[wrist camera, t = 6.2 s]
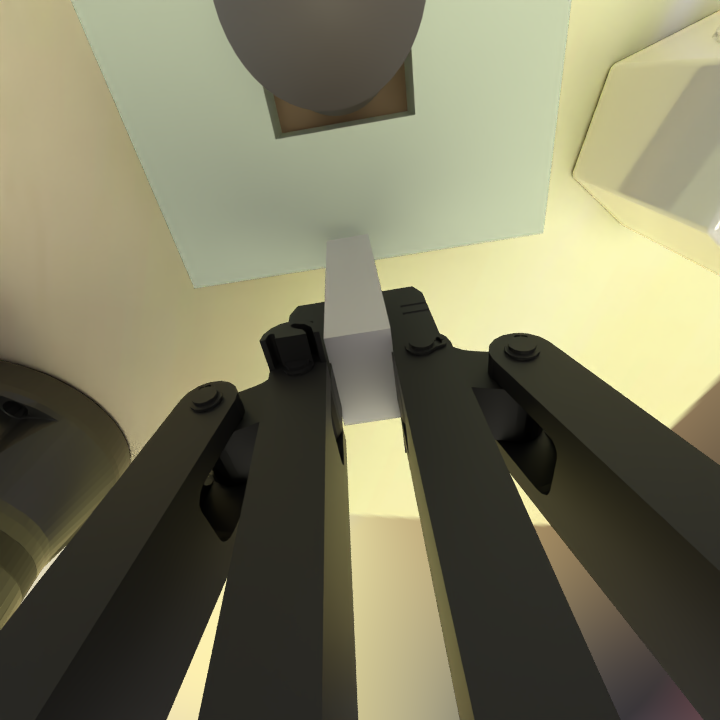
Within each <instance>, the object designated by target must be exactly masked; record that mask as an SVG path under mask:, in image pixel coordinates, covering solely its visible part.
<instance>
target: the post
mask: <svg viewBox="0 0 720 720" xmlns="http://www.w3.org/2000/svg"><path fill="white" fill-rule="evenodd" d="M213 2H214V5H215V9H216V12H217V15H218V18H219V21H220V23H221V26H222V28H223V30H224V33H225V35H226V37H227V39H228V41H229V43H230V45H231V47H232V48H233V50H234V52H235V54H236V55H237V57H238V58H239V59H240V61H241V62H242V64H243V65H244V67H245V68H246V69H247V70H248V71H249V72H250V74H251V75H252V76H253V77H254V78H255V79H256V80H257V81H258V82H259V83H260V84H261V85H262V86H263V87H264V88H266V89H267V90H268V91H270V92H271V93H272V94H273V95H274V100H275V104H276V108H277V113H278V117H279V121H280V126H281V130H282V133H287V132H292V131H298V130H303V129H309V128H315V127H320V126H326V125H332V124H337V123H343V122H348V121H354V120H360V119H365V118H371V117H376V116H382V115H388V114H393V113H399V112H405V111H407V96H406V81H405V66H404V61H405V59H406V57H407V55H408V54H409V52H410V50H411V48H412V45H413V43H414V41H415V38H416V36H417V33H418V30H419V27H420V24H421V20H422V17H423V12H424V7H425V2H426V0H213Z"/></svg>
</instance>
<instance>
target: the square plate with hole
mask: <svg viewBox="0 0 720 720" xmlns="http://www.w3.org/2000/svg"><path fill="white" fill-rule="evenodd" d="M71 2H72V4H73V7H74V9H75V11H76V14H77V16H78V18H79V21H80V23H81V25H82V28H83V30H84V32H85V35H86V37H87V39H88V42H89V44H90V46H91V49H92V51H93V53H94V56H95V58H96V60H97V63H98V65H99V67H100V70H101V72H102V74H103V76H104V79H105V81H106V83H107V86H108V88H109V90H110V93H111V95H112V97H113V100H114V102H115V104H116V107H117V109H118V111H119V114H120V116H121V118H122V121H123V123H124V125H125V128H126V130H127V132H128V135H129V137H130V139H131V142H132V144H133V146H134V149H135V151H136V153H137V156H138V158H139V160H140V163H141V165H142V167H143V170H144V172H145V174H146V177H147V179H148V181H149V184H150V186H151V188H152V191H153V193H154V195H155V198H156V200H157V202H158V205H159V207H160V209H161V212H162V214H163V216H164V219H165V221H166V223H167V226H168V228H169V230H170V233H171V235H172V237H173V240H174V242H175V244H176V247H177V249H178V251H179V254H180V256H181V258H182V261H183V263H184V265H185V268H186V270H187V272H188V275H189V277H190V279H191V282H192V284H193V286H194V289H195V288H201V287H207V286H214V285H220V284H226V283H233V282H239V281H245V280H252V279H258V278H264V277H270V276H277V275H283V274H289V273H296V272H302V271H308V270H315V269H321V268H326V245H327V241H328V240H334V239H340V238H346V237H352V236H358V235H364V234H368V236H369V240H370V244H371V248H372V253H373V257H374V260H378V259H384V258H390V257H397V256H403V255H409V254H415V253H422V252H428V251H434V250H441V249H447V248H453V247H460V246H466V245H472V244H479V243H485V242H491V241H497V240H504V239H510V238H516V237H523V236H529V235H535V234H542V233H543V232H544V224H545V215H546V207H547V199H548V190H549V182H550V174H551V166H552V157H553V149H554V141H555V133H556V124H557V116H558V108H559V100H560V91H561V83H562V75H563V67H564V58H565V50H566V42H567V33H568V25H569V17H570V9H571V0H426V2H425V7H424V12H423V17H422V20H421V24H420V27H419V30H418V33H417V36H416V38H415V41H414V43H413V45H412V48H411V50H410V52H409V54H408V55H407V57H406V59H405V61H404V66H405V81H406V96H407V111H405V112H399V113H393V114H388V115H382V116H376V117H371V118H365V119H360V120H354V121H348V122H343V123H337V124H332V125H326V126H320V127H315V128H309V129H303V130H298V131H292V132H287V133H282V130H281V126H280V121H279V117H278V113H277V108H276V104H275V100H274V95H273V94H272V93H271V92H270V91H268V90H267V89H266V88H264V87H263V86H262V85H261V84H260V83H259V82H258V81H257V80H256V79H255V78H254V77H253V76H252V75H251V74H250V72H249V71H248V70H247V69H246V68H245V67H244V65H243V64H242V62H241V61H240V59H239V58H238V57H237V55H236V54H235V52H234V50H233V48H232V47H231V45H230V43H229V41H228V39H227V37H226V35H225V33H224V30H223V28H222V26H221V23H220V21H219V18H218V15H217V12H216V9H215V5H214V2H213V0H71Z"/></svg>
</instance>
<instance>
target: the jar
mask: <svg viewBox="0 0 720 720" xmlns="http://www.w3.org/2000/svg"><path fill="white" fill-rule="evenodd" d="M573 177H574V179H575V180H576V181H578V182H579V183H580V184H581V185H582V186H583V187H584V188H585V189H586V190H587V191H588V192H589V193H590V194H591V195H592V196H593V197H594V198H595V199H596V200H597V201H598V202H599V203H600V204H601V205H602V206H603V207H604V208H605V209H606V210H607V211H608V212H609V213H610V214H612V215H613V216H614V217H615V218H616V219H617V220H618V221H619V222H620V223H621V224H622V225H623V226H625V227H626V228H628V229H630V230H632V231H634V232H636V233H638V234H640V235H642V236H644V237H646V238H648V239H650V240H651V241H653V242H655V243H657V244H659V245H661V246H663V247H665V248H667V249H669V250H671V251H673V252H675V253H677V254H678V255H680V256H682V257H684V258H686V259H688V260H690V261H692V262H694V263H696V264H698V265H700V266H702V267H703V268H705V269H707V270H709V271H711V272H713V273H715V274H717V275H719V276H720V10H719V11H717V12H715V13H713V14H711V15H709V16H708V17H706V18H704V19H702V20H700V21H698V22H696V23H694V24H692V25H690V26H688V27H686V28H684V29H682V30H680V31H678V32H676V33H674V34H672V35H670V36H668V37H666V38H664V39H662V40H660V41H658V42H656V43H654V44H653V45H651V46H649V47H647V48H645V49H643V50H641V51H639V52H637V53H635V54H633V55H631V56H629V57H627V58H625V59H623V60H621V61H619V62H617V63H615V64H614V65H613V66H612V67H611V69H610V71H609V74H608V77H607V80H606V82H605V85H604V88H603V91H602V93H601V96H600V99H599V102H598V105H597V107H596V110H595V113H594V116H593V118H592V121H591V124H590V127H589V129H588V132H587V135H586V138H585V141H584V143H583V146H582V149H581V152H580V154H579V157H578V160H577V163H576V165H575V168H574V171H573Z"/></svg>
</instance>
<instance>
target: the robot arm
mask: <svg viewBox="0 0 720 720" xmlns="http://www.w3.org/2000/svg"><path fill="white" fill-rule="evenodd" d="M260 344H261V347H262V349H263V352H264V355H265V358H266V361H267V363H268V366H269V369H270V374H269V379H268V380H267V381H265V382H263V383H261V384H259V385H257V386H255V387H252V388H249V389H247V390H244V391H241V392H238V391H237V389H236V386H234V385H233V384H231V383H230V382H224V381H217V382H210V383H206V384H203V385H201V386H198V387H197V388H195V389H194V390H192V391H190V392H189V393H188V394H186V395H185V396H184V397H183V398H182V399H181V400H180V402H179V403H178V404H177V405H176V407H175V408H174V409H173V410H172V412H171V413H170V414H169V416H168V417H167V418H166V419H165V421H164V422H163V423H162V425H161V426H160V427H159V428H158V430H157V431H156V432H155V433H154V435H153V436H152V437H151V439H150V440H149V441H148V442H147V444H146V445H145V446H144V447H143V449H142V450H141V451H140V453H139V454H138V455H137V456H136V458H135V459H134V460H133V462H132V463H131V464H130V453H129V448H128V445H127V442H126V440H125V438H124V436H123V434H122V432H121V431H120V429H119V428H118V426H117V425H116V424H115V422H114V421H113V420H112V419H111V418H110V417H109V416H108V415H107V414H106V413H105V412H104V411H103V410H102V409H101V408H100V407H99V406H98V405H97V404H95V403H94V402H93V401H92V400H90V399H89V398H87V397H86V396H85V395H83V394H82V393H80V392H79V391H77V390H75V389H74V388H72V387H70V386H69V385H67V384H65V383H63V382H61V381H59V380H57V379H55V378H53V377H51V376H48V375H46V374H43V373H41V372H38V371H36V370H33V369H30V368H27V367H24V366H21V365H17V364H13V363H9V362H5V361H0V720H166V719H167V717H168V715H169V712H170V710H171V708H172V705H173V703H174V701H175V698H176V696H177V694H178V691H179V689H180V687H181V684H182V682H183V680H184V677H185V675H186V673H187V670H188V668H189V666H190V663H191V661H192V659H193V656H194V654H195V651H196V649H197V647H198V644H199V642H200V640H201V637H202V635H203V633H204V630H205V628H206V626H207V623H208V621H209V619H210V616H211V614H212V611H213V609H214V607H215V605H216V602H217V600H218V597H219V595H220V593H221V591H222V588H223V586H224V583H225V581H226V579H227V582H226V587H225V592H224V596H223V601H222V606H221V611H220V616H219V621H218V626H217V630H216V635H215V640H214V645H213V649H212V655H211V659H210V664H209V669H208V674H207V678H206V683H205V688H204V693H203V698H202V703H201V708H200V712H199V717H198V720H358V705H357V684H356V683H357V682H356V659H355V637H354V613H353V591H352V569H351V545H350V522H349V499H348V476H347V453H346V439H345V435H344V431H343V426H342V417H343V421H344V426H345V425H352V424H359V423H365V422H372V421H379V420H385V419H392V418H399V417H401V421H402V429H403V437H404V445H405V453H407V455H408V460H409V465H410V470H411V476H412V481H413V486H414V491H415V496H416V501H417V506H418V511H419V516H420V521H421V526H422V531H423V536H424V541H425V546H426V551H427V556H428V561H429V566H430V571H431V576H432V581H433V586H434V591H435V596H436V602H437V607H438V612H439V617H440V622H441V627H442V632H443V637H444V642H445V647H446V652H447V657H448V662H449V667H450V671H451V677H452V682H453V687H454V692H455V697H456V702H457V707H458V712H459V717H460V720H620V718H619V715H618V713H617V711H616V709H615V707H614V704H613V702H612V700H611V698H610V695H609V693H608V691H607V689H606V686H605V684H604V682H603V680H602V678H601V675H600V673H599V671H598V669H597V666H596V665H595V662H594V660H593V657H592V655H591V653H590V651H589V649H588V647H587V644H586V642H585V640H584V637H583V635H582V633H581V631H580V628H579V626H578V624H577V622H576V620H575V617H574V615H573V613H572V611H571V609H570V607H569V604H568V602H567V600H566V597H565V595H564V593H563V591H562V589H561V586H560V584H559V582H558V580H557V577H556V575H555V573H554V571H553V569H552V566H551V564H550V562H549V559H548V557H547V555H546V553H545V551H544V549H543V546H542V544H541V542H540V540H539V537H538V535H537V533H536V530H535V528H534V526H533V524H532V522H531V519H530V517H529V515H528V513H527V510H526V508H525V506H524V504H523V502H522V499H521V497H520V495H519V493H518V490H517V488H516V486H515V484H514V482H513V479H512V477H511V475H512V476H513V478H514V479H515V480H516V481H517V483H518V484H519V485H520V486H521V488H522V489H523V490H524V492H525V493H526V494H527V495H528V497H529V498H530V499H531V500H532V502H533V503H534V504H535V506H536V507H537V508H538V509H539V511H540V512H541V513H542V514H543V516H544V517H545V518H546V520H547V521H548V522H549V523H550V525H551V526H552V527H553V528H554V530H555V531H556V532H557V534H558V535H559V536H560V537H561V539H562V540H563V541H564V542H565V544H566V545H567V546H568V548H569V549H570V550H571V551H572V553H573V554H574V555H575V556H576V558H577V559H578V560H579V562H580V563H581V564H582V565H583V567H584V568H585V569H586V570H587V572H588V573H589V574H590V576H591V577H592V578H593V579H594V581H595V582H596V583H597V584H598V586H599V587H600V588H601V589H602V591H603V592H604V593H605V595H606V596H607V597H608V598H609V600H610V601H611V602H612V603H613V605H614V606H615V607H616V609H617V610H618V611H619V612H620V614H621V615H622V616H623V618H624V619H625V620H626V621H627V622H628V624H629V625H630V626H631V628H632V629H633V630H634V631H635V633H636V634H637V635H638V637H639V638H640V639H641V640H642V641H643V643H644V644H645V645H646V647H647V648H648V649H649V650H650V652H651V653H652V654H653V656H654V657H655V658H656V659H657V661H658V662H659V663H660V664H661V666H662V667H663V668H664V670H665V671H666V672H667V673H668V675H669V676H670V677H671V679H672V680H673V681H674V682H675V684H676V685H677V686H678V687H679V688H680V690H681V691H682V693H683V694H684V695H685V696H686V698H687V699H688V700H689V701H690V703H691V704H692V705H693V707H694V708H695V709H696V710H697V712H698V713H699V714H700V715H701V717H702V718H703V719H704V720H720V465H719V464H717V463H716V462H714V461H713V460H711V459H710V458H709V457H708V456H706V455H705V454H703V453H702V452H701V451H699V450H698V449H697V448H695V447H694V446H692V445H691V444H690V443H688V442H686V441H685V440H684V439H683V438H681V437H680V436H679V435H677V434H676V433H674V432H673V431H672V430H670V429H669V428H668V427H666V426H665V425H663V424H662V423H661V422H659V421H658V420H657V419H655V418H654V417H652V416H651V415H650V414H648V413H647V412H646V411H644V410H643V409H641V408H640V407H639V406H637V405H636V404H635V403H633V402H632V401H630V400H629V399H628V398H626V397H625V396H623V395H622V394H621V393H619V392H618V391H617V390H615V389H614V388H612V387H611V386H610V385H608V384H607V383H606V382H604V381H603V380H601V379H600V378H599V377H597V376H596V375H595V374H593V373H592V372H590V371H589V370H588V369H586V368H585V367H584V366H582V365H581V364H579V363H578V362H577V361H575V360H574V359H572V358H571V357H570V356H568V355H567V354H566V353H564V352H563V351H561V350H560V349H559V348H557V347H556V346H555V345H553V344H552V343H550V342H549V341H547V340H545V339H543V338H541V337H539V336H535V335H531V334H526V333H513V334H507V335H503V336H501V337H499V338H496V339H494V341H493V342H492V343H491V344H490V345H489V352H480V351H467V350H461V349H458V348H455V347H453V346H452V343H451V342H450V341H449V339H448V338H447V337H446V336H444V335H442V334H440V333H439V331H438V329H437V326H436V324H435V322H434V319H433V317H432V315H431V312H430V311H429V308H428V305H427V303H426V301H425V298H424V296H423V293H422V292H420V291H419V290H417V289H415V288H414V287H406V288H400V289H393V290H387V291H381V286H380V282H379V278H378V274H377V269H376V265H375V261H374V257H373V253H372V248H371V244H370V240H369V236H368V234H364V235H358V236H352V237H346V238H340V239H334V240H328V241H327V245H326V277H325V302H321V303H315V304H309V305H303V306H298V307H297V308H296V309H295V310H294V311H293V313H292V314H291V315H290V318H289V322H287V323H283V324H280V325H278V326H276V327H273V328H271V329H270V330H269V331H267V332H266V333H265V334H264V335H263V336H262V338H261V339H260ZM510 474H511V475H510ZM66 545H67V546H66ZM65 546H66V547H65ZM64 547H65V548H64ZM63 548H64V550H63V551H62V552H61V553H60V555H59V556H58V557H57V559H56V560H55V561H54V563H53V564H52V565H51V566H50V568H49V569H48V570H47V571H46V573H45V574H44V575H43V576H42V578H41V579H40V580H39V581H38V583H37V584H36V585H35V587H34V588H33V589H32V591H31V592H30V593H29V594H28V596H27V597H26V598H25V599H24V597H25V595H26V594H27V592H28V590H29V589H30V587H31V586H32V584H33V582H34V581H35V580H36V578H37V576H38V575H39V573H40V572H41V570H42V569H43V567H44V566H45V565H47V564H48V562H50V561H51V559H52V558H54V557H55V556H56V555H57V554H58V553H59V552H60V551H61V550H62V549H63ZM227 576H228V577H227ZM23 599H24V601H23ZM22 601H23V602H22ZM21 602H22V603H21Z"/></svg>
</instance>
